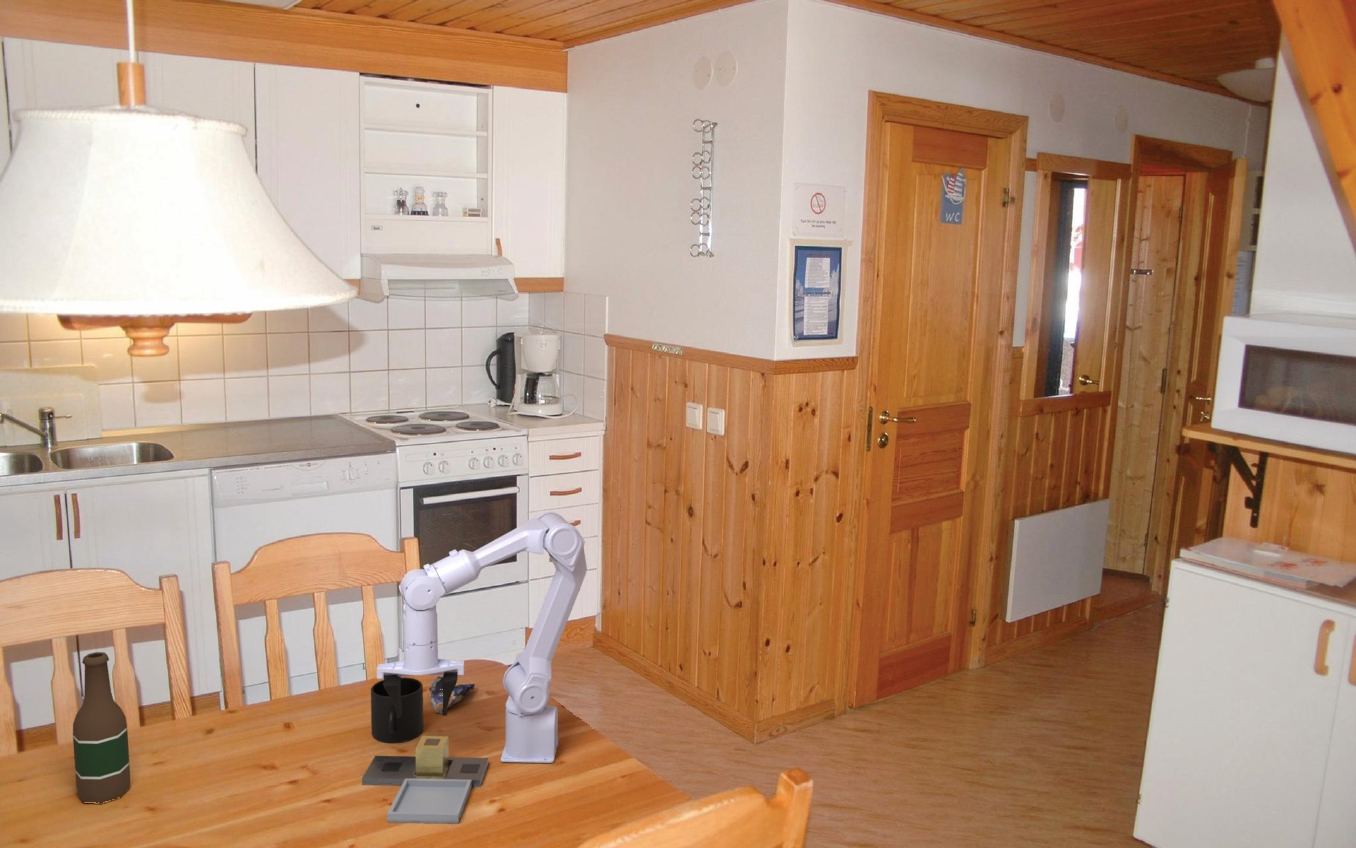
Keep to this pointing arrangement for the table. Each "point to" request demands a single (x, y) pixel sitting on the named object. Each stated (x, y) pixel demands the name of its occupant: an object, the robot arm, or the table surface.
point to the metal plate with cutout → (402, 767)
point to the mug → (385, 715)
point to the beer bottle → (100, 737)
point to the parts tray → (430, 801)
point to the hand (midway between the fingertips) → (422, 714)
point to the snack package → (457, 692)
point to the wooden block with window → (432, 756)
